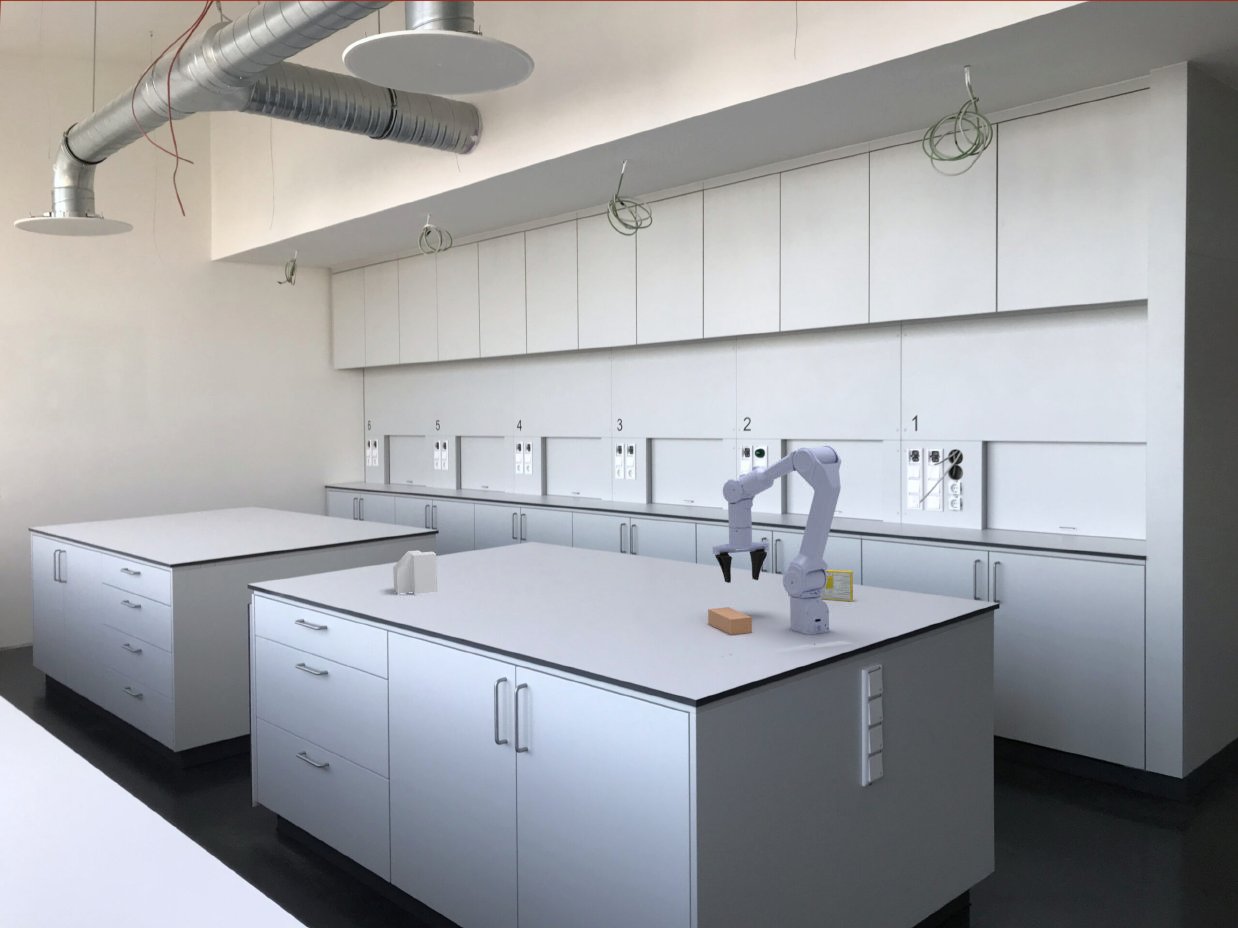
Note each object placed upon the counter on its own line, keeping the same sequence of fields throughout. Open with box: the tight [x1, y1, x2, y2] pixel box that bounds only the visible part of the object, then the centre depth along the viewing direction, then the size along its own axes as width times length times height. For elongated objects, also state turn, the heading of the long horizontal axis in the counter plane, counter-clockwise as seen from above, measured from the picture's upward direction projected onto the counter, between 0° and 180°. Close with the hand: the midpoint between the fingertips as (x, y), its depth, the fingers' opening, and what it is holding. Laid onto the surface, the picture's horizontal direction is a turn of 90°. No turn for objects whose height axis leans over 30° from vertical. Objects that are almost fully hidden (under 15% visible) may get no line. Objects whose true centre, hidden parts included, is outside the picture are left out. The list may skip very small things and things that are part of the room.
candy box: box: [821, 569, 854, 603], centre depth 264 cm, size 16×2×8 cm, turn 59°
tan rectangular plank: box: [707, 607, 753, 636], centre depth 228 cm, size 13×5×4 cm, turn 19°
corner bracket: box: [392, 550, 439, 595], centre depth 292 cm, size 11×11×12 cm
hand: (741, 580), depth 240 cm, fingers open, 7 cm apart
